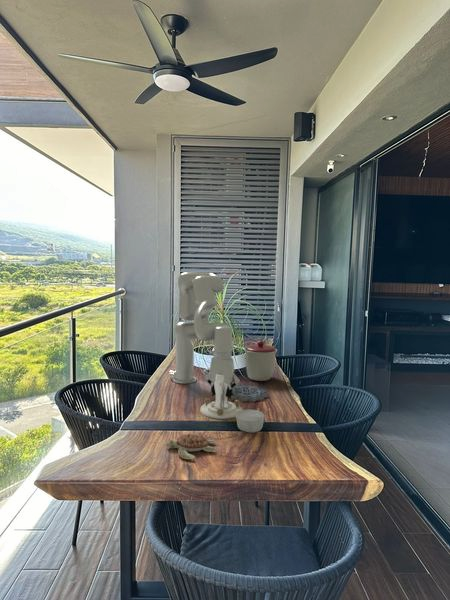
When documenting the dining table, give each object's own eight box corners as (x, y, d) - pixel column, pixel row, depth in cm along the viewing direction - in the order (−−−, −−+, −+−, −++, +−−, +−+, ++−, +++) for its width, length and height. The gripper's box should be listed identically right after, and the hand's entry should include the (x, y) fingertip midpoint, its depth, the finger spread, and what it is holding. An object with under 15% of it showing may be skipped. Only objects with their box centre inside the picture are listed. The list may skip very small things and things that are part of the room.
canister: (281, 377, 220) (282, 340, 218) (266, 385, 205) (268, 345, 203) (252, 372, 230) (254, 336, 228) (237, 379, 214) (238, 341, 212)
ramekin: (244, 436, 144) (244, 422, 144) (230, 424, 154) (230, 411, 154) (270, 430, 149) (270, 417, 149) (254, 420, 159) (254, 407, 159)
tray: (193, 415, 163) (193, 406, 162) (209, 401, 180) (209, 392, 179) (234, 421, 157) (235, 412, 156) (247, 406, 174) (247, 398, 173)
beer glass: (232, 405, 170) (232, 371, 169) (225, 410, 164) (226, 375, 162) (217, 402, 173) (218, 369, 171) (210, 407, 167) (211, 373, 165)
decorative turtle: (168, 437, 142) (168, 424, 142) (214, 437, 143) (214, 424, 143) (164, 463, 124) (164, 448, 124) (216, 462, 125) (216, 447, 125)
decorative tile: (273, 393, 194) (273, 388, 194) (257, 405, 176) (257, 400, 176) (236, 386, 203) (236, 382, 203) (218, 397, 185) (218, 392, 185)
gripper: (200, 354, 165) (199, 396, 167) (239, 359, 160) (238, 402, 162) (207, 351, 172) (206, 390, 174) (244, 355, 167) (243, 396, 169)
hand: (221, 395), depth 168 cm, fingers closed on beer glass, 6 cm apart
